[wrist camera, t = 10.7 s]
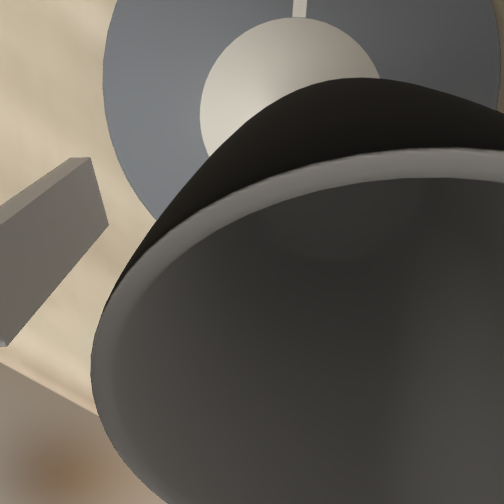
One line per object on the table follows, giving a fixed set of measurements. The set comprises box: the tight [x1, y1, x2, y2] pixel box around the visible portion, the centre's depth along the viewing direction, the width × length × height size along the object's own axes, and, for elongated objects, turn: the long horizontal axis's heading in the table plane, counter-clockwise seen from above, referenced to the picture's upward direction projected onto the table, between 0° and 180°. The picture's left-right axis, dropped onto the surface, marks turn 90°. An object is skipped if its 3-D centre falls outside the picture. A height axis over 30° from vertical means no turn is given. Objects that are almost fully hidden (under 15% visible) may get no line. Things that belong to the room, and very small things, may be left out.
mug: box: [91, 77, 504, 504], centre depth 11 cm, size 12×9×10 cm
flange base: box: [103, 0, 501, 220], centre depth 22 cm, size 23×23×6 cm
